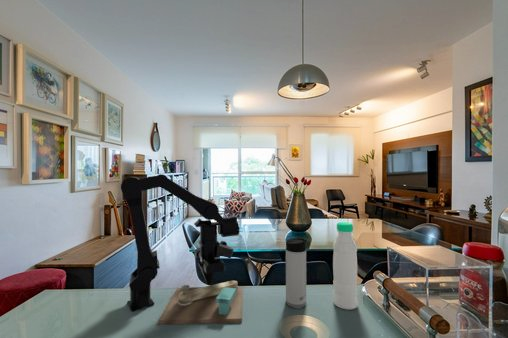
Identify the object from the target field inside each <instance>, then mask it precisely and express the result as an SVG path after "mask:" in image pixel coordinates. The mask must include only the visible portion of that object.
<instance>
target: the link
mask: <svg viewBox="0 0 508 338" xmlns="http://www.w3.org/2000/svg"><path fill="white" fill-rule="evenodd" d="M201 287H202V286H201ZM224 287H226V288H236V290H237V287H238V281H237V280H229V281H226V282H225V281H224V282H220V283H216V284H215V283H214V284H210V285H208V286H207V285H206V286H203V287H202V288H198V289H193V290H189V291H188V289H189V288H190V285H189V284H185V285H181V287H180V288H181V289H182V290H183V291H182V292H180V293H179V303H182V304H185V303H189V302H191V301H194V300H198V299H202V298H206V297H210V296H214V295H218V294H219V293H220V292H221V291H222V289H223V288H224Z"/></svg>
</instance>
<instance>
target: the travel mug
mask: <svg viewBox="0 0 508 338" xmlns="http://www.w3.org/2000/svg"><path fill="white" fill-rule="evenodd" d="M307 242H308V238H302V237H294V238H289V239H287V240H286V241H285V303H286V304H287V306H289V307H291V308H293V309H302V308H304V307H306V305H307V249H306V248H307V244H306V243H307Z"/></svg>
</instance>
